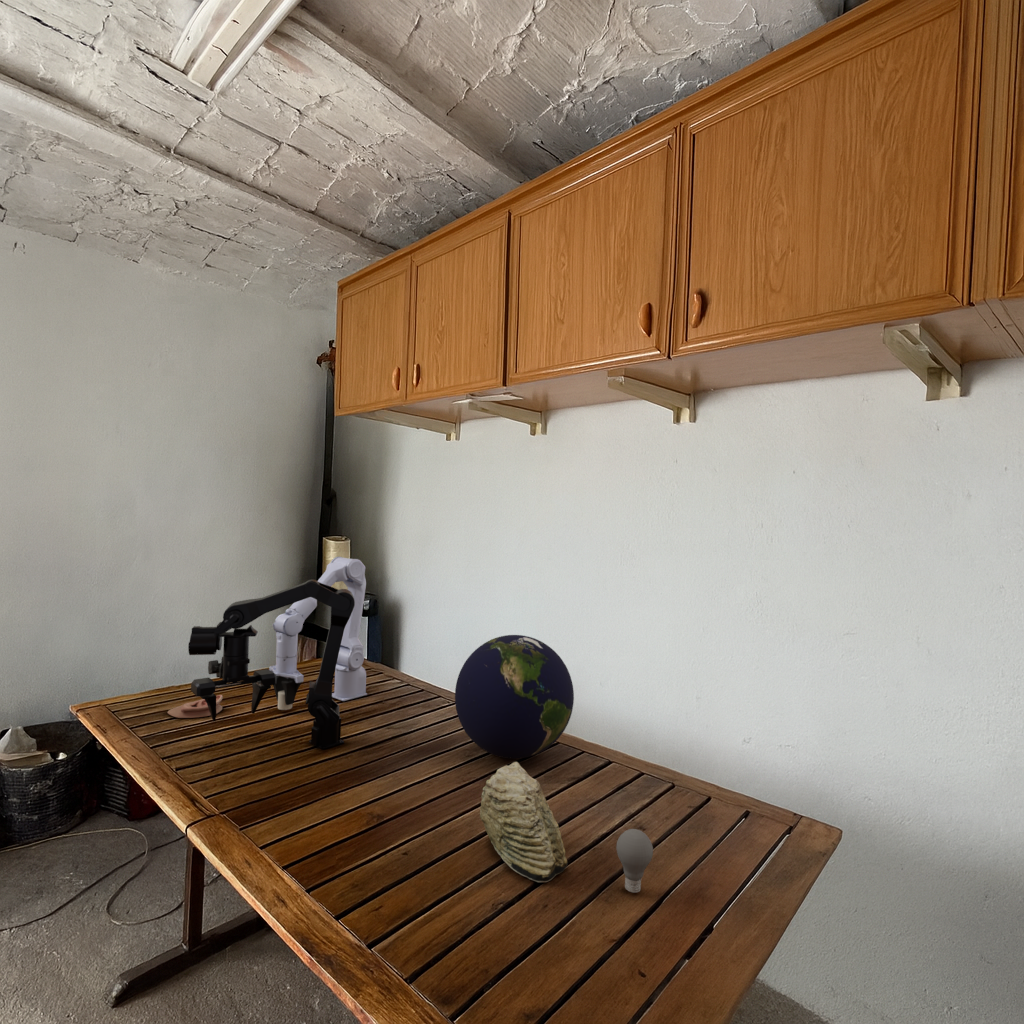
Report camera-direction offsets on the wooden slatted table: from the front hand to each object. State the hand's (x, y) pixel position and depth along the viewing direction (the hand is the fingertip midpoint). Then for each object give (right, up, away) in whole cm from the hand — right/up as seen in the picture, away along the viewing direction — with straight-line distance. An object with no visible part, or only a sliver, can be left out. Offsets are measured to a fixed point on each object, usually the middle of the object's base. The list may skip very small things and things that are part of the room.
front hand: (233, 716), depth 156 cm
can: (+3, -6, +27) cm, 28 cm away
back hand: (+3, -5, +27) cm, 28 cm away
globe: (+69, -11, +4) cm, 70 cm away
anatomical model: (-22, -7, +24) cm, 33 cm away
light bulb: (+89, -13, -51) cm, 103 cm away
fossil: (+70, -12, -42) cm, 82 cm away
